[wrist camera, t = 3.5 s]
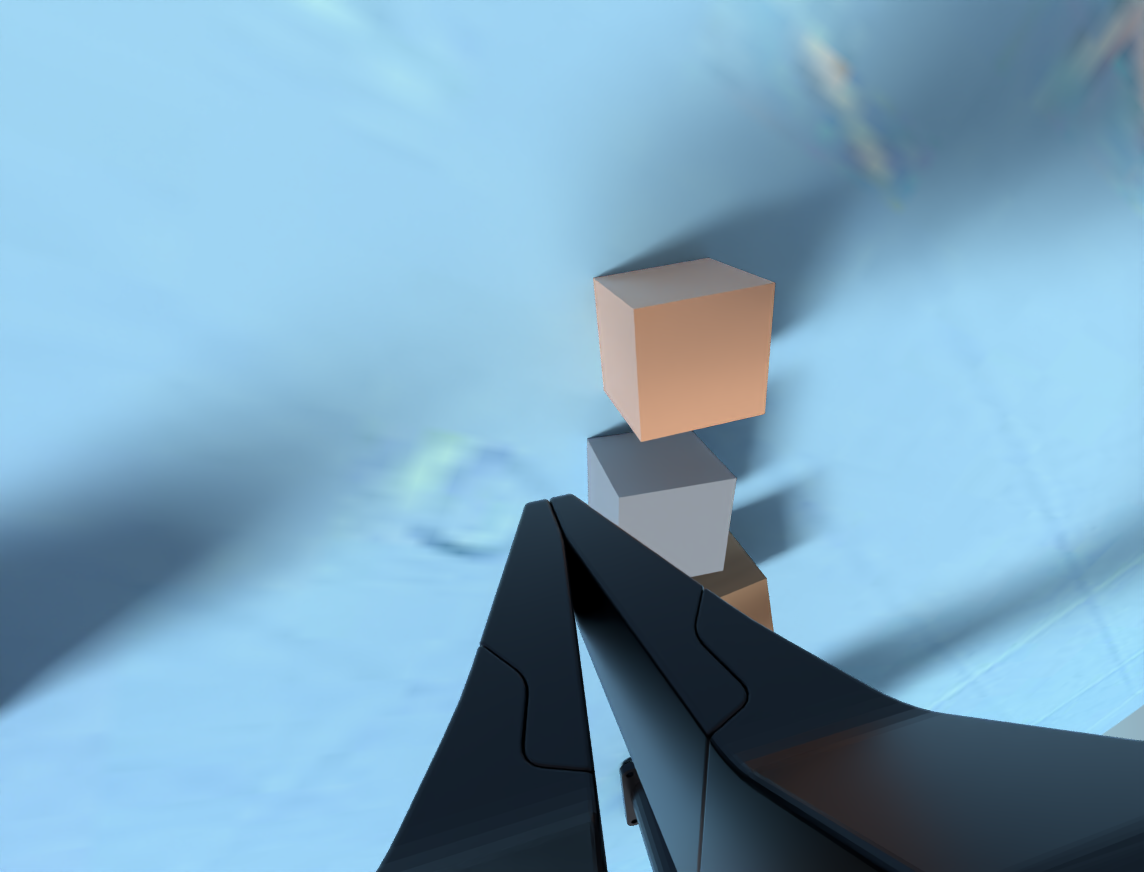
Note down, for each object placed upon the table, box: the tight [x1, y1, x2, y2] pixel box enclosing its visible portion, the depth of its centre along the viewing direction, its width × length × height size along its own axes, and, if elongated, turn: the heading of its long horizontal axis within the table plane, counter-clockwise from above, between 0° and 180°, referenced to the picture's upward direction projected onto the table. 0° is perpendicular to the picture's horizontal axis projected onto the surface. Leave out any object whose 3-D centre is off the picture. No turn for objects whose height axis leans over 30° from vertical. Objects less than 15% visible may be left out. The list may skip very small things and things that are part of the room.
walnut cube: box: [691, 531, 774, 632], centre depth 22 cm, size 4×4×4 cm
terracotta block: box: [593, 258, 775, 442], centre depth 16 cm, size 4×4×4 cm
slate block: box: [587, 431, 737, 577], centre depth 19 cm, size 4×4×4 cm
